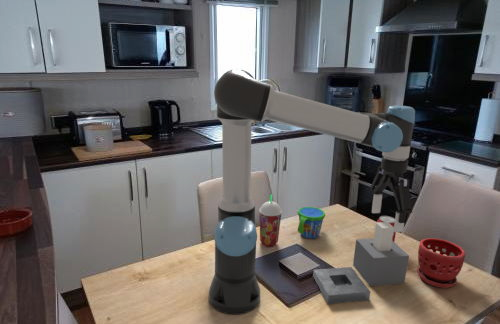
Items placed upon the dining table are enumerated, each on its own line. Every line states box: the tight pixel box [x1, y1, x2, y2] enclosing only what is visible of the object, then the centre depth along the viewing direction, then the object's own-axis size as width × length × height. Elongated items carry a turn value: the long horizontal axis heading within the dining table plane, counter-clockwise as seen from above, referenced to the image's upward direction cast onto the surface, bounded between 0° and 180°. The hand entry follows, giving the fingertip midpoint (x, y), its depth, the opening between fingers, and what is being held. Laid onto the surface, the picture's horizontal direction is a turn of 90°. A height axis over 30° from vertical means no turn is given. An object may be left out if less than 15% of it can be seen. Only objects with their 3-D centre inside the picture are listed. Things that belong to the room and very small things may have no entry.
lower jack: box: [312, 266, 371, 305], centre depth 111 cm, size 13×13×3 cm
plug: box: [373, 221, 394, 252], centre depth 116 cm, size 5×4×10 cm
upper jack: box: [352, 237, 410, 287], centre depth 119 cm, size 12×12×10 cm
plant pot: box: [416, 237, 466, 289], centre depth 117 cm, size 13×13×12 cm
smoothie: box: [258, 194, 283, 248], centre depth 135 cm, size 8×8×20 cm
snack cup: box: [297, 206, 326, 239], centre depth 144 cm, size 16×10×10 cm
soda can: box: [376, 215, 397, 243], centre depth 135 cm, size 7×7×12 cm
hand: (386, 221), depth 115 cm, fingers open, 13 cm apart
